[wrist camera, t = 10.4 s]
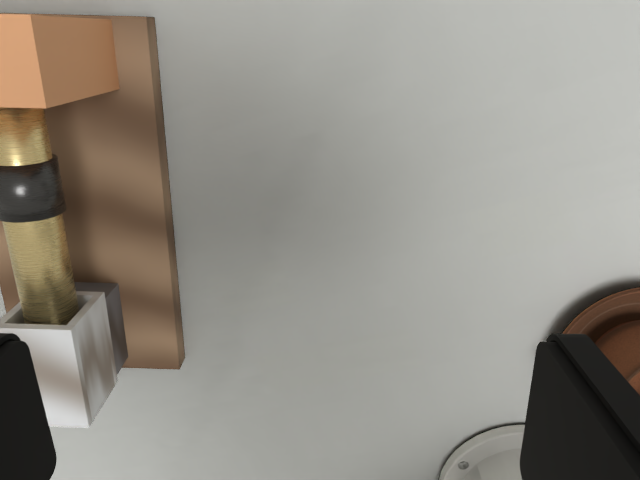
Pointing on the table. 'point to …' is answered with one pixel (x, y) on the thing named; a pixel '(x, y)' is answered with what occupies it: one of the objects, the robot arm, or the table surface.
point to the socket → (54, 60)
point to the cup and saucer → (615, 331)
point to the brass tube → (35, 218)
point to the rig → (108, 238)
